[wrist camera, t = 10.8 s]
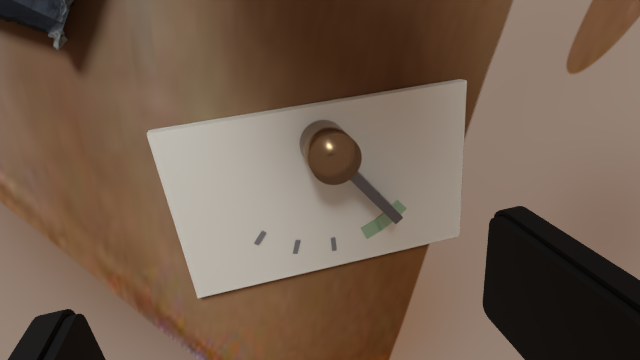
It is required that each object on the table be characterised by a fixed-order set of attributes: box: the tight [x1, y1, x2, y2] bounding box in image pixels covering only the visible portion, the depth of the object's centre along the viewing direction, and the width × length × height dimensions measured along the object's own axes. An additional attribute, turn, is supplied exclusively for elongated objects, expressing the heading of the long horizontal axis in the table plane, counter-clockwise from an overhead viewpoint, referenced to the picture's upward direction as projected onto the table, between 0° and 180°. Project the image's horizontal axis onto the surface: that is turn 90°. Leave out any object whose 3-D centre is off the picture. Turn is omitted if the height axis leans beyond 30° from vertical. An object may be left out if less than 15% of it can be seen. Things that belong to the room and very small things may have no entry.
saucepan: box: [299, 120, 403, 224], centre depth 36 cm, size 13×4×5 cm, turn 43°
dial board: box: [147, 79, 467, 298], centre depth 39 cm, size 18×30×1 cm, turn 97°
